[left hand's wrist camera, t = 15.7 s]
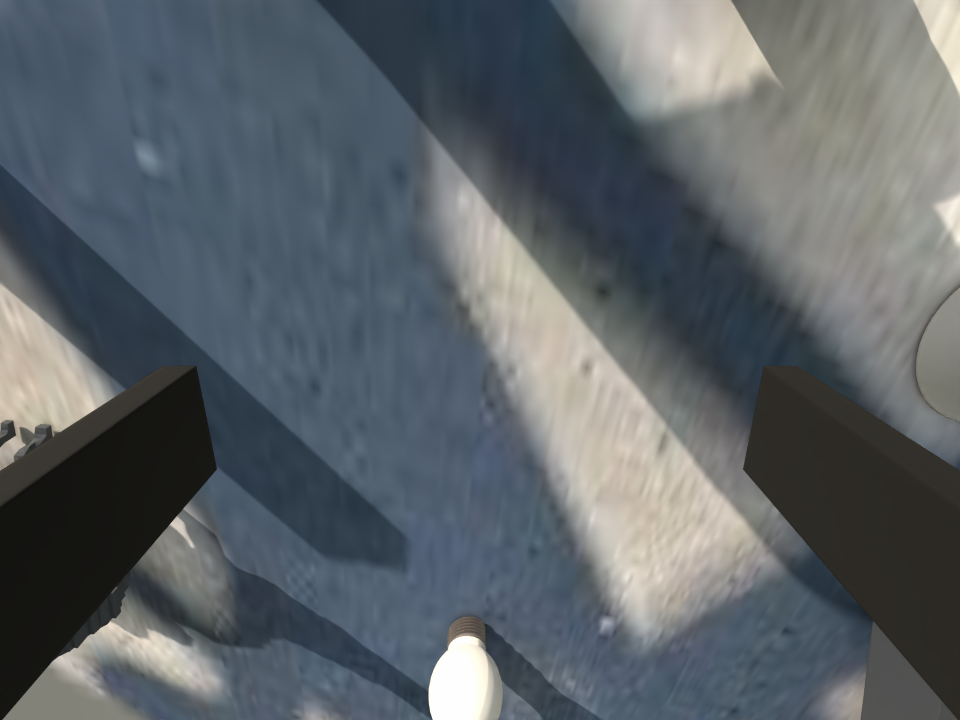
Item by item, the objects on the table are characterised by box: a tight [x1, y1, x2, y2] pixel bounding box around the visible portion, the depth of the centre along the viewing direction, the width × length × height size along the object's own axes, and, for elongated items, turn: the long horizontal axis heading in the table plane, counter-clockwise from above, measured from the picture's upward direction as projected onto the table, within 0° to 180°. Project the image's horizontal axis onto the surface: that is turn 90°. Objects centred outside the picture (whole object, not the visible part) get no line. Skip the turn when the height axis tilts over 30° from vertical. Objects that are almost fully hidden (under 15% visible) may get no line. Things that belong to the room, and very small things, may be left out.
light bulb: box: [429, 617, 503, 720], centre depth 50 cm, size 7×7×11 cm
